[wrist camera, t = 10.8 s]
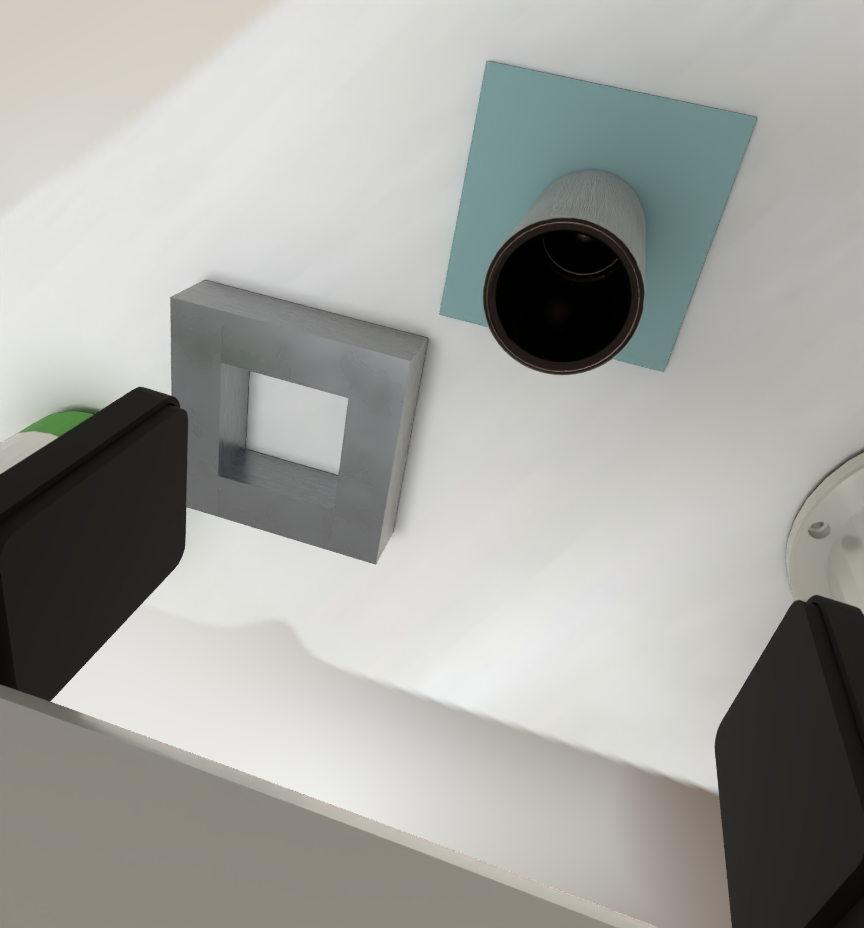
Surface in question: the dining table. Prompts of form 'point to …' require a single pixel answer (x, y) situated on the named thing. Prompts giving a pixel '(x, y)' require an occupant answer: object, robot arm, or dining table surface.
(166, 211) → the dining table surface
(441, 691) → the dining table surface
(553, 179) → the mat
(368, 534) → the socket block
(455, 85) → the dining table surface
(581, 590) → the dining table surface
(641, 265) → the grey cylinder
